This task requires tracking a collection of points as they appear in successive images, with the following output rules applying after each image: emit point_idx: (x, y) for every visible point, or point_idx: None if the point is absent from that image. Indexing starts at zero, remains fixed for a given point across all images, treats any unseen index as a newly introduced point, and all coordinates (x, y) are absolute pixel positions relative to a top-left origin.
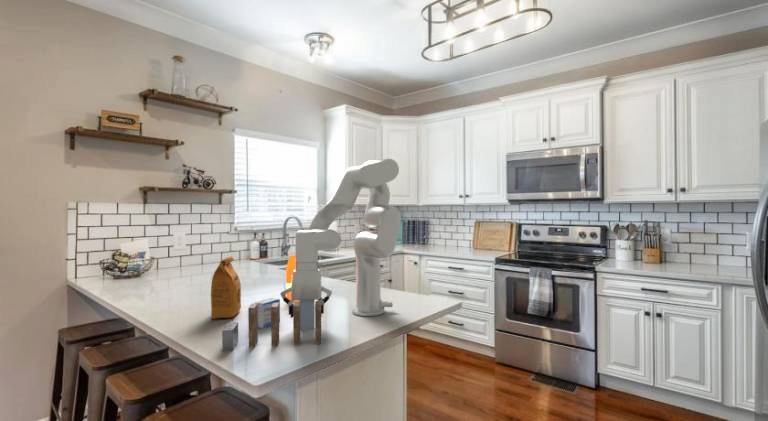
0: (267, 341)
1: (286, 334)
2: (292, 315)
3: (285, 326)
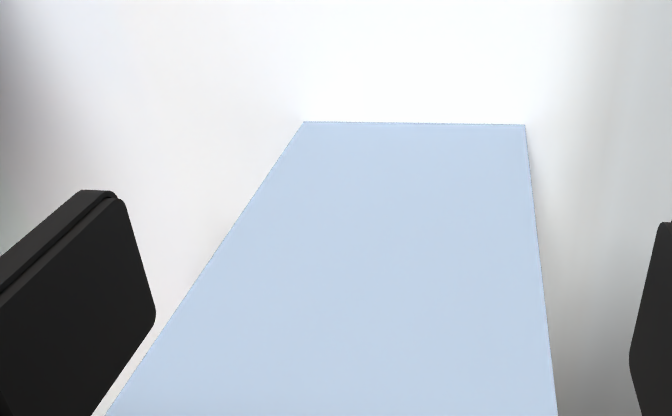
0: (98, 411)
1: None
2: (136, 342)
3: (89, 31)
